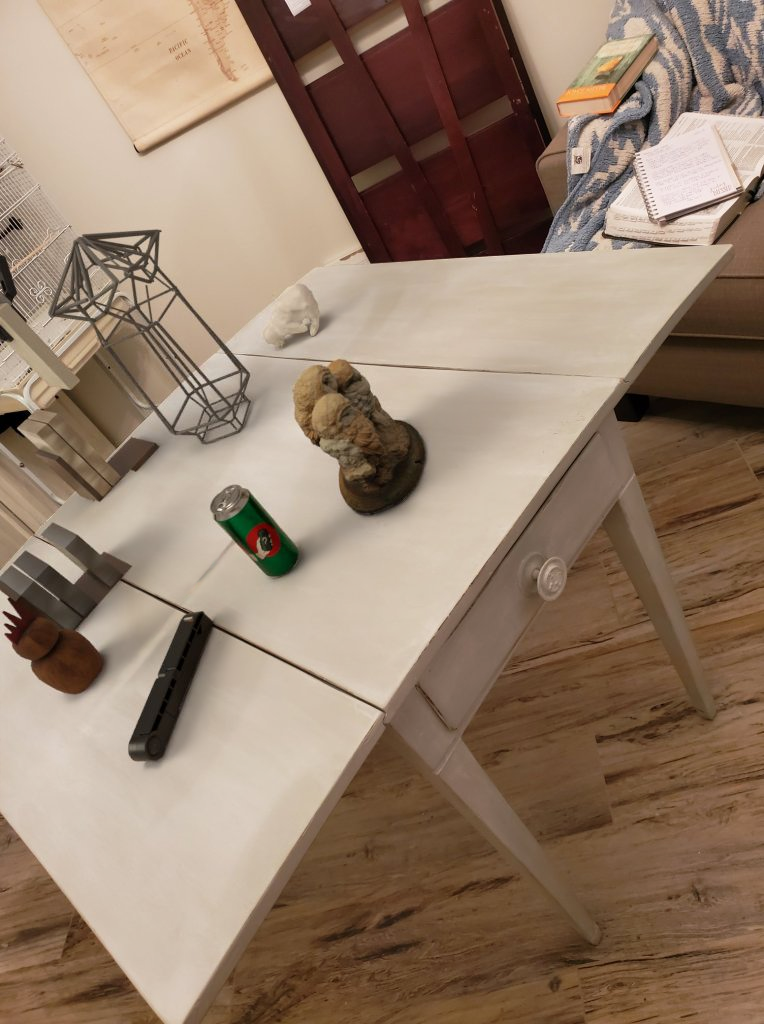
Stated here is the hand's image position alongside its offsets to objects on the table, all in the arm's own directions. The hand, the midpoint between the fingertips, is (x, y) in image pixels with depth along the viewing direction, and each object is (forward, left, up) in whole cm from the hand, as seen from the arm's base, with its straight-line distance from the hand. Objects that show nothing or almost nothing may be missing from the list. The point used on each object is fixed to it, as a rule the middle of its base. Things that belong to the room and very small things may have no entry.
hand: (17, 334), depth 111 cm
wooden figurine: (+11, -47, -28) cm, 56 cm away
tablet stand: (+27, -52, -28) cm, 65 cm away
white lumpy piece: (+31, +19, -28) cm, 46 cm away
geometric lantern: (+20, 0, -28) cm, 34 cm away
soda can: (+38, -37, -28) cm, 60 cm away
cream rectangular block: (0, 0, -10) cm, 10 cm away
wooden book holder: (-3, -2, -28) cm, 28 cm away
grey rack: (+4, -32, -28) cm, 43 cm away
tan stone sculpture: (+51, -26, -28) cm, 64 cm away
